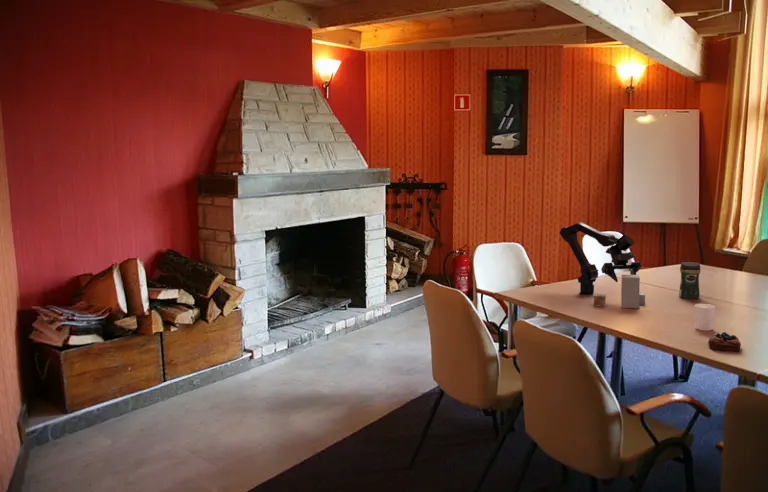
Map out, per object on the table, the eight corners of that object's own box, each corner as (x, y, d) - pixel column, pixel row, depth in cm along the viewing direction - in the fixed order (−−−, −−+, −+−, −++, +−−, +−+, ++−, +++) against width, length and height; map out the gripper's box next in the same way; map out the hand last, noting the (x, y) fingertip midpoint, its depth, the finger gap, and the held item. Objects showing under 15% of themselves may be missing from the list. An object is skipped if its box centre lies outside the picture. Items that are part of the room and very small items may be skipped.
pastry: (709, 351, 239) (710, 336, 238) (707, 342, 250) (708, 328, 249) (742, 354, 235) (743, 339, 234) (738, 345, 245) (739, 330, 245)
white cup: (689, 326, 272) (690, 303, 270) (706, 325, 272) (708, 303, 271) (700, 331, 264) (701, 308, 263) (717, 330, 265) (719, 307, 263)
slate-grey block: (633, 304, 313) (634, 294, 312) (634, 301, 318) (634, 292, 317) (644, 305, 311) (644, 295, 310) (644, 302, 316) (645, 293, 315)
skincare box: (638, 306, 309) (639, 274, 307) (639, 309, 302) (640, 277, 300) (620, 304, 312) (621, 273, 309) (620, 308, 305) (621, 276, 303)
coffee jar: (698, 296, 327) (700, 261, 324) (700, 299, 320) (702, 263, 317) (677, 295, 330) (679, 260, 327) (679, 298, 323) (681, 263, 320)
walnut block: (593, 305, 311) (594, 295, 311) (594, 303, 316) (595, 293, 315) (604, 306, 309) (604, 296, 309) (605, 304, 314) (605, 294, 313)
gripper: (604, 247, 313) (613, 272, 303) (640, 245, 314) (650, 271, 304) (597, 260, 321) (605, 285, 312) (632, 258, 323) (642, 284, 313)
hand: (626, 281), depth 310 cm, fingers open, 9 cm apart
